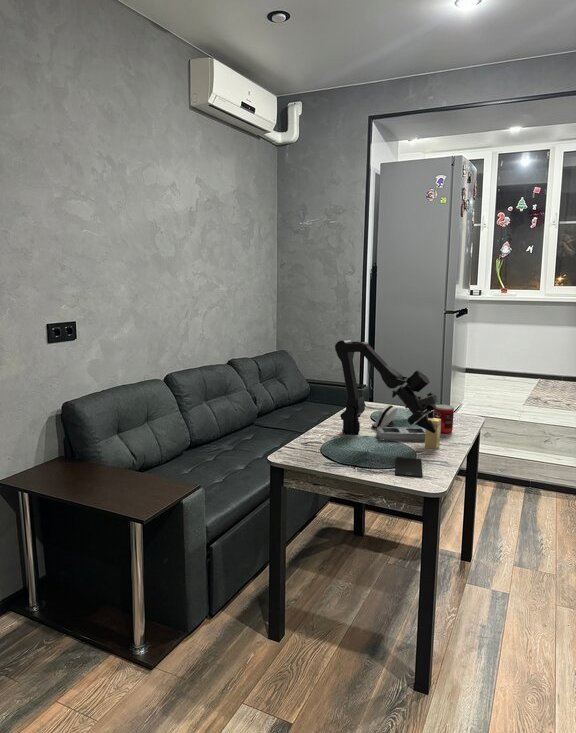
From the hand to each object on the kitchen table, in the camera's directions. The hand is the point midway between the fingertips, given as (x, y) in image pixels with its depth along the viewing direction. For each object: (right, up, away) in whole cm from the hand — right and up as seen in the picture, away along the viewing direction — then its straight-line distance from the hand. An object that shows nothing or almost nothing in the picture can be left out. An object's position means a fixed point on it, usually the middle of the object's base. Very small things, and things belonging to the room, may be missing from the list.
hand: (436, 430), depth 206 cm
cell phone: (-16, -11, -22) cm, 29 cm away
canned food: (+9, -3, +23) cm, 25 cm away
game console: (-14, -2, +34) cm, 36 cm away
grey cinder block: (-10, -4, +14) cm, 18 cm away
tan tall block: (-1, -6, +2) cm, 7 cm away
